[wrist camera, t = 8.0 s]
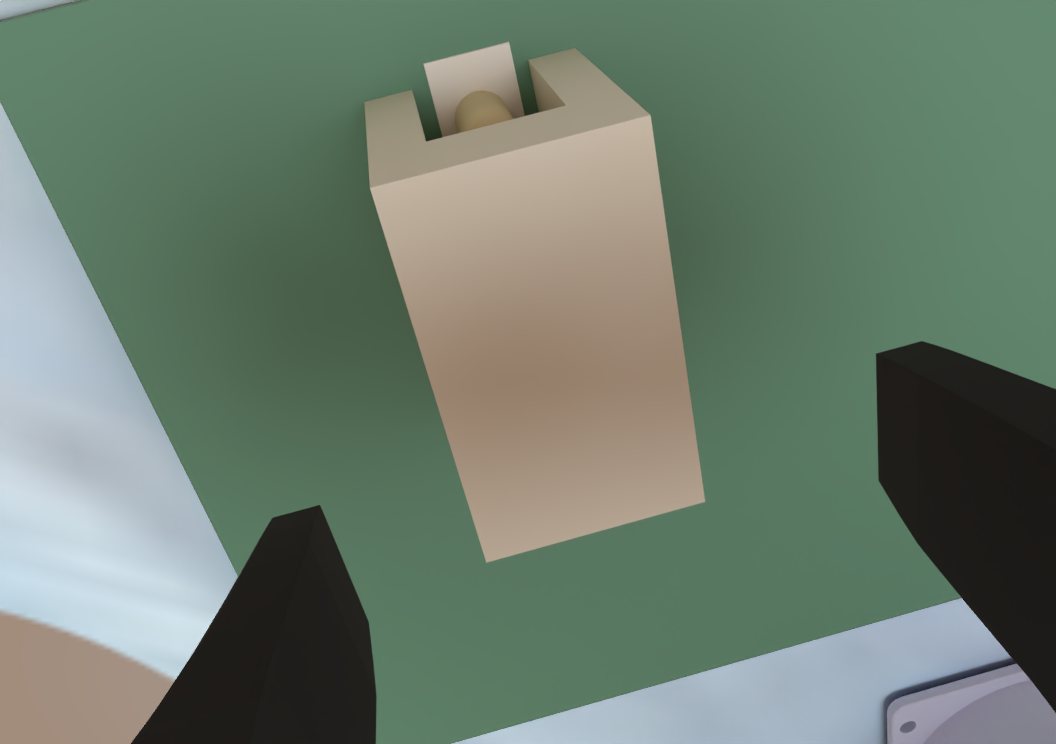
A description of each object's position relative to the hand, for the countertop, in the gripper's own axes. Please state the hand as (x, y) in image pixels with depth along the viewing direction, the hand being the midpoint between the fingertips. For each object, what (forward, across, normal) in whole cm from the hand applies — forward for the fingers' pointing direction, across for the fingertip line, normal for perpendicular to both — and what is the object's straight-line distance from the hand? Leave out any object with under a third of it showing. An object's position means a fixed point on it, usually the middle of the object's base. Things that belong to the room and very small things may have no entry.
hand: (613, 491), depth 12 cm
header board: (+9, -4, +4) cm, 10 cm away
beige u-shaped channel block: (+8, 0, 0) cm, 8 cm away
